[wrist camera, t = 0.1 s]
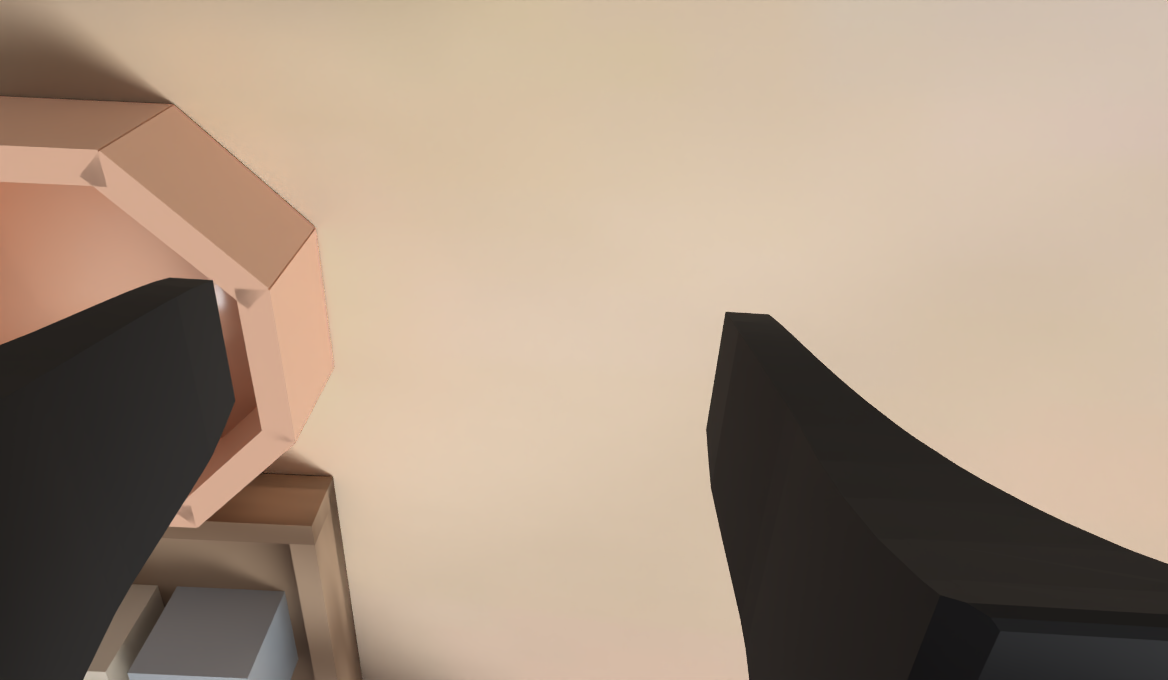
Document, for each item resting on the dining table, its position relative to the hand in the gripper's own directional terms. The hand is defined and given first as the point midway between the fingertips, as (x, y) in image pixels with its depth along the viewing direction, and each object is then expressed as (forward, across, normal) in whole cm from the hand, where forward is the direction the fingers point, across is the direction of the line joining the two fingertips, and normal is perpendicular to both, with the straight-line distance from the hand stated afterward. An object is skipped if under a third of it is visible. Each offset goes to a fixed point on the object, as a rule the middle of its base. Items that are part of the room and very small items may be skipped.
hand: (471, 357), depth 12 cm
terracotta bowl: (+10, +11, +5) cm, 16 cm away
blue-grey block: (+10, +10, +17) cm, 22 cm away
